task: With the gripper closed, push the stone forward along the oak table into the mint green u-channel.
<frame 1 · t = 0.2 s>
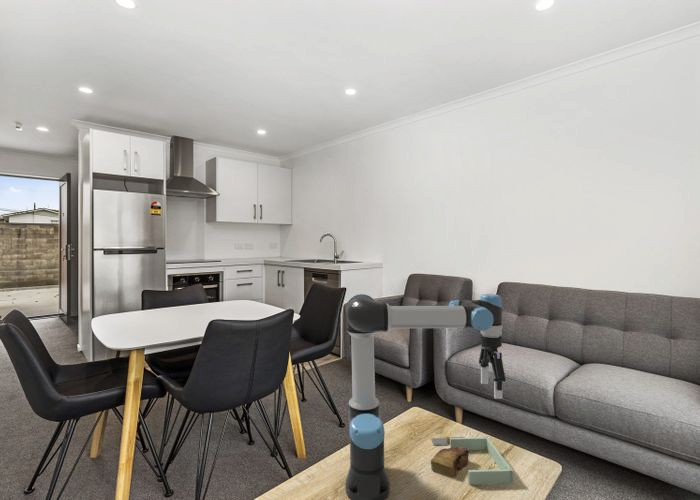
hand: (491, 390, 138), 28 cm above the table, fingers open, 13 cm apart
mint green u-channel: (478, 464, 137), on the table
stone: (450, 467, 136), on the table
trowel: (447, 442, 152), on the table
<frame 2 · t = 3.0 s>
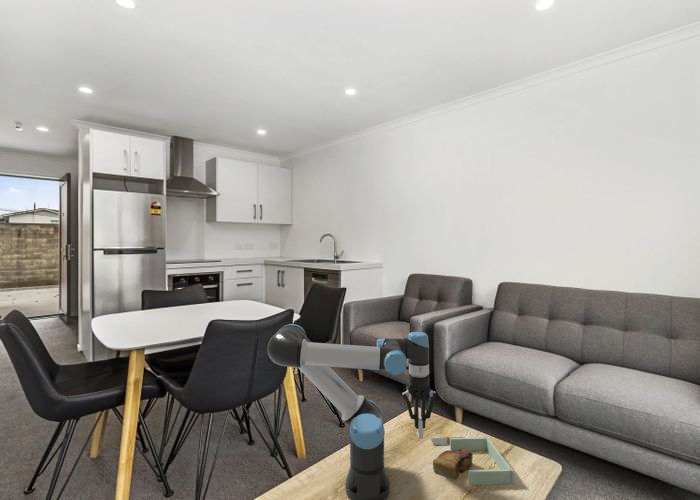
hand: (420, 436, 136), 11 cm above the table, fingers closed
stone: (453, 469, 135), on the table
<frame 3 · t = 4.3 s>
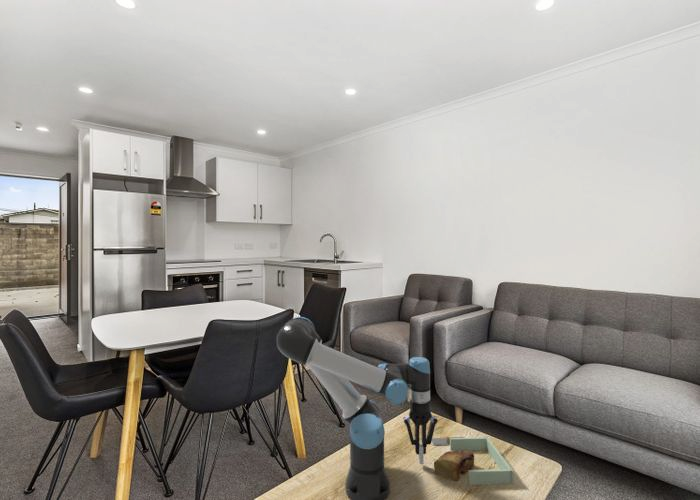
hand: (420, 461, 136), 2 cm above the table, fingers closed
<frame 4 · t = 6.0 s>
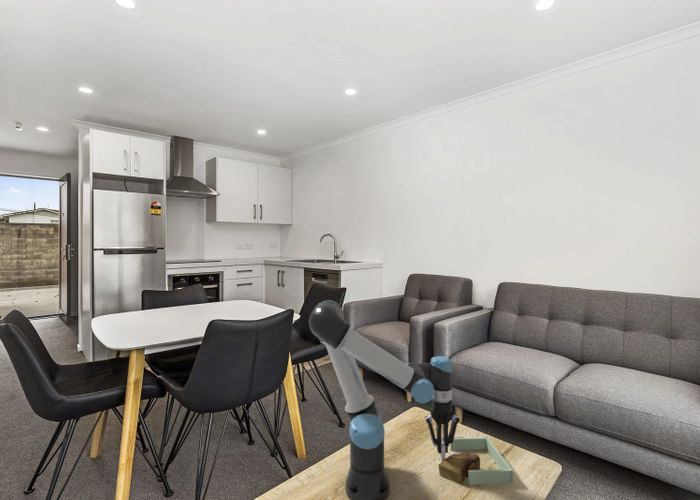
hand: (442, 460, 136), 2 cm above the table, fingers closed
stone: (459, 473, 132), on the table
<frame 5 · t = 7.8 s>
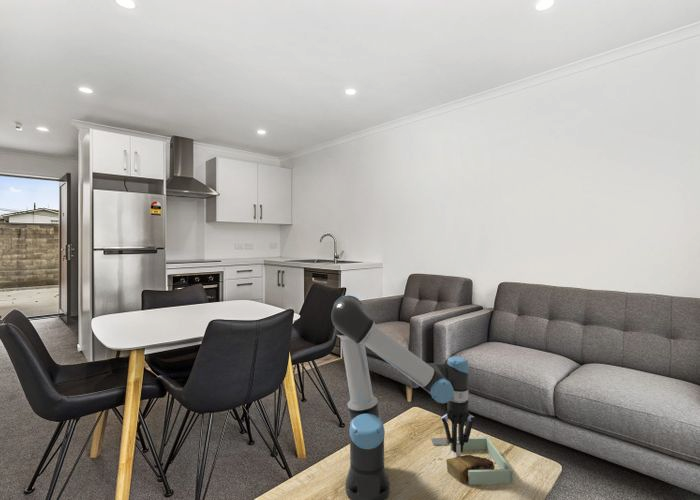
hand: (457, 459, 137), 2 cm above the table, fingers closed
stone: (469, 474, 131), on the table, touching mint green u-channel, gripper
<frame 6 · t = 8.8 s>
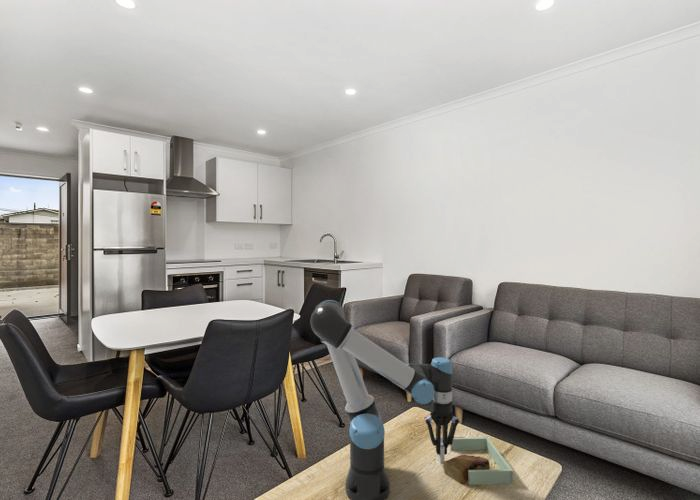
hand: (441, 462, 136), 1 cm above the table, fingers closed
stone: (466, 474, 132), on the table
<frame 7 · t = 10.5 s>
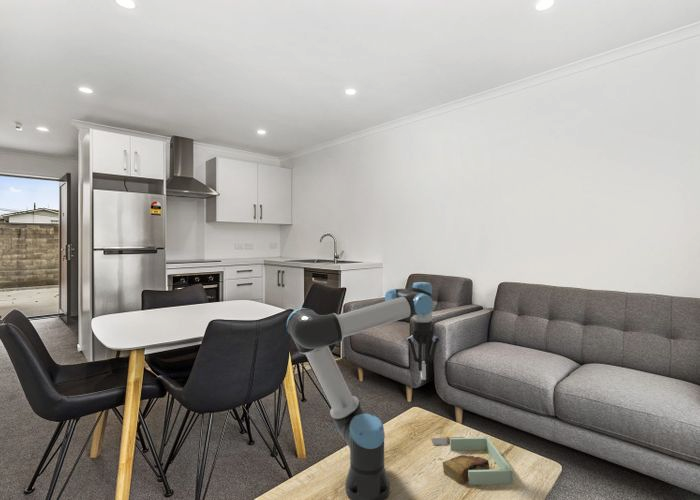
hand: (423, 378, 146), 29 cm above the table, fingers closed
nothing on the table moved.
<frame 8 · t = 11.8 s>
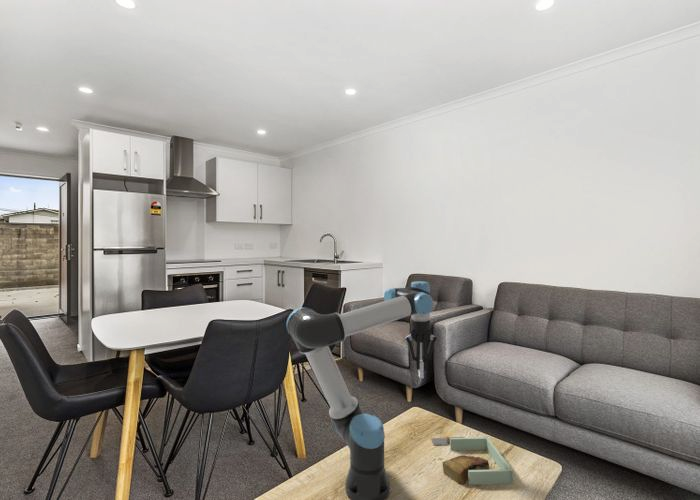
hand: (421, 376, 148), 29 cm above the table, fingers closed
nothing on the table moved.
at the end: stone inside the target area on the mint green u-channel (8.6 cm from its centre), point -0.5 cm above the mint green u-channel's base; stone moved 6.6 cm from its start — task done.
